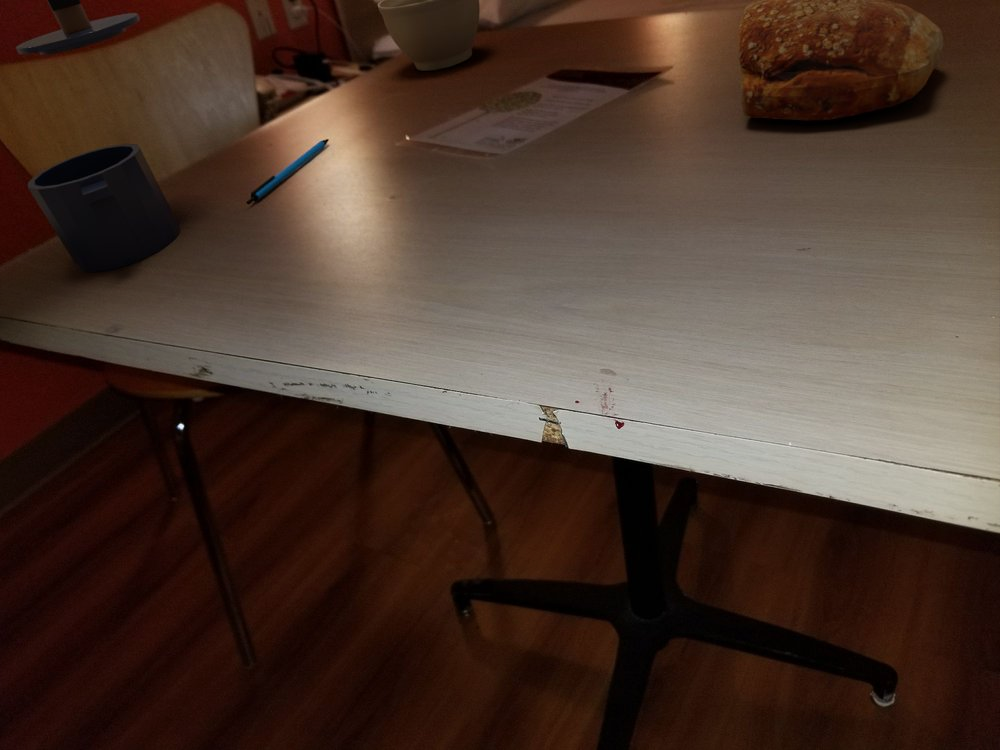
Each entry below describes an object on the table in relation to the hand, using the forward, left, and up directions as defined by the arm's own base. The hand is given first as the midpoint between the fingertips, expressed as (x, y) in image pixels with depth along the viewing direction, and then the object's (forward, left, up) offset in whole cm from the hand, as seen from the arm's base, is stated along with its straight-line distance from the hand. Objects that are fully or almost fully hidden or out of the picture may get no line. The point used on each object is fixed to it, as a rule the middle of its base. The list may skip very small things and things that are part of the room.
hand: (65, 5), depth 75 cm
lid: (0, 0, -3) cm, 3 cm away
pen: (+15, -3, -23) cm, 28 cm away
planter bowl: (+50, +23, -23) cm, 60 cm away
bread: (+62, -44, -23) cm, 80 cm away
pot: (-6, -6, -23) cm, 25 cm away
